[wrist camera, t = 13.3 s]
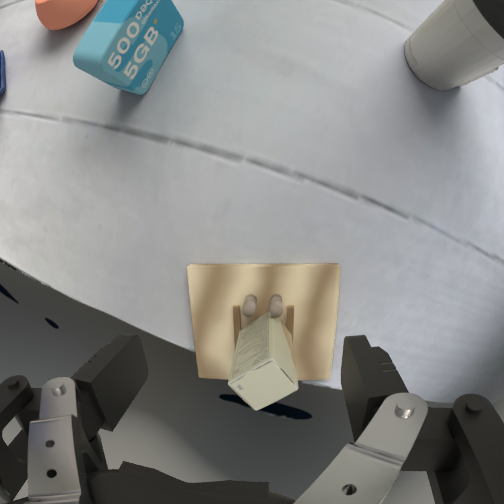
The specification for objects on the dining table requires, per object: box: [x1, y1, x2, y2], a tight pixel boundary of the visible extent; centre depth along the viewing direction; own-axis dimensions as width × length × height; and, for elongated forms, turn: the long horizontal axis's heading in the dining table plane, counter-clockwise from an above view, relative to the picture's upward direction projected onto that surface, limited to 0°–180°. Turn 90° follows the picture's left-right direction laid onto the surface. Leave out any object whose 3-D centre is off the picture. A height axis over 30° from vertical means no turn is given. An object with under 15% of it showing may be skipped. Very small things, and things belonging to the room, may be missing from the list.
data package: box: [73, 0, 184, 95], centre depth 25 cm, size 12×4×12 cm, turn 155°
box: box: [228, 311, 298, 411], centre depth 29 cm, size 5×4×11 cm
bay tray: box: [187, 263, 340, 380], centre depth 35 cm, size 18×16×5 cm
